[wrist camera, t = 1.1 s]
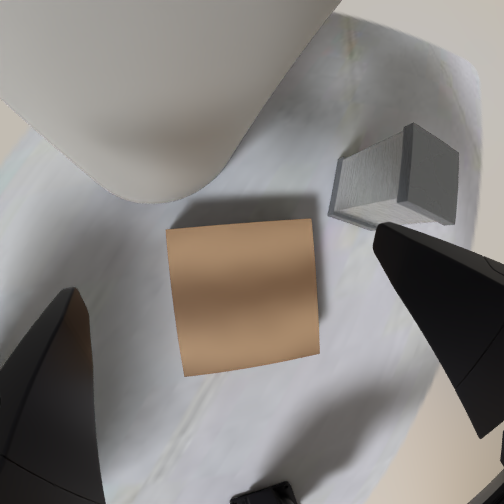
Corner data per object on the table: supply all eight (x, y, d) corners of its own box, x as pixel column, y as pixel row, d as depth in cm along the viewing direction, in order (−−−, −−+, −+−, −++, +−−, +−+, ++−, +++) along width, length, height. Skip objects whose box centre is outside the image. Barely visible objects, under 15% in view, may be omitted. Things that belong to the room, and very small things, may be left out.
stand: (304, 342, 25) (319, 353, 22) (183, 361, 23) (184, 376, 20) (295, 221, 24) (311, 218, 22) (167, 231, 22) (165, 229, 19)
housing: (370, 230, 26) (454, 224, 17) (327, 216, 25) (407, 201, 16) (379, 177, 26) (458, 152, 17) (337, 159, 25) (413, 122, 16)
